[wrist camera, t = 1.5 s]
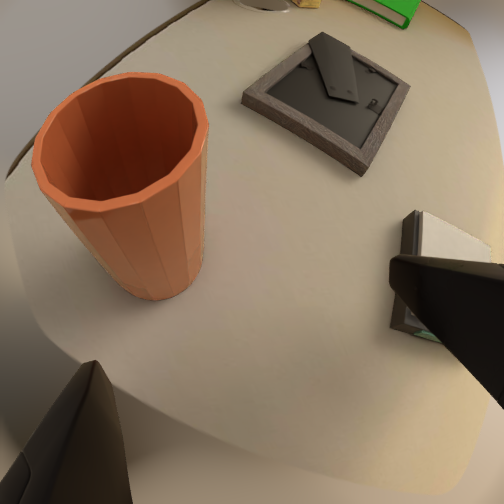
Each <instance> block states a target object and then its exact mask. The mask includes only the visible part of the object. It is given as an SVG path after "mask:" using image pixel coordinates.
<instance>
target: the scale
mask: <svg viewBox="0 0 504 504" xmlns="http://www.w3.org/2000/svg"><path fill="white" fill-rule="evenodd" d="M400 254H406V255H416V256H427V257H437V258H448V259H458V260H468V261H478V262H488V263H491V246H490V245H488V244H486V243H484V242H483V241H481V240H479V239H477V238H475V237H473V236H472V235H470V234H468V233H466V232H464V231H462V230H460V229H459V228H457V227H455V226H453V225H451V224H449V223H447V222H445V221H443V220H441V219H439V218H437V217H435V216H433V215H431V214H429V213H427V212H425V211H422V212H419V211H417V210H414V211H413V212H412V213H410V214H409V215H408V216H407V217H406V218H404V219H403V230H402V243H401V253H400ZM390 328H393V329H396V330H400V331H403V332H406V333H410V334H413V335H416V336H420V337H423V338H426V339H430V340H433V341H437V342H440V341H439V340H438V339H437V338H436V337H435V336H434V335H433V334H432V333H431V332H430V331H429V330H428V329H427V328H426V327H425V326H424V325H423V324H422V323H421V322H420V321H419V320H418V319H417V318H416V316H415V315H414V314H413V313H412V312H411V311H410V309H409V308H408V307H407V306H406V305H405V303H404V302H403V301H402V300H401V299H400V298H399V296H398V295H397V294H395V301H394V308H393V314H392V320H391V326H390ZM440 343H441V342H440Z"/></svg>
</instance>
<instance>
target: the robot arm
mask: <svg viewBox="0 0 504 504" xmlns="http://www.w3.org/2000/svg"><path fill="white" fill-rule="evenodd" d="M389 284H390V286H391V288H392V289H393V291H394V292H395V293H396V294H397V295H398V296H399V298H400V299H401V300H402V301H403V302H404V303H405V305H406V306H407V307H408V308H409V309H410V311H411V312H412V313H413V314H414V315H415V316H416V318H417V319H418V320H419V321H420V322H421V323H422V324H423V325H424V326H425V327H426V328H427V329H428V330H429V331H430V332H431V333H432V334H433V335H434V336H435V337H436V338H437V339H438V340H439V341H440V342H441V343H442V344H443V345H444V346H445V347H446V348H447V349H448V350H449V351H450V352H451V353H452V354H453V355H454V356H455V357H456V358H457V359H458V360H459V361H460V362H461V363H462V364H463V365H464V366H465V368H466V369H467V370H468V371H469V372H470V373H471V374H472V375H473V376H474V377H475V378H476V379H477V380H478V381H479V382H480V384H481V385H482V386H483V387H484V388H485V389H486V390H487V391H488V392H489V393H490V395H491V396H492V397H493V398H494V399H495V400H496V401H497V403H498V404H499V405H500V406H501V407H502V408H503V409H504V264H497V263H488V262H478V261H468V260H458V259H448V258H437V257H427V256H416V255H406V254H400V255H397V256H395V257H393V258H392V259H391V260H390V264H389ZM22 451H23V452H20V454H19V455H18V457H17V458H16V460H15V461H14V463H13V464H12V466H11V467H10V469H9V470H8V472H7V473H6V475H5V476H4V478H3V479H2V480H1V482H0V504H133V502H132V497H131V490H130V484H129V478H128V472H127V465H126V457H125V450H124V442H123V435H122V430H121V426H120V421H119V416H118V412H117V407H116V402H115V396H114V391H113V387H112V384H111V382H110V380H109V379H108V377H107V375H106V373H105V372H104V370H103V368H102V366H101V365H100V363H99V362H98V361H96V360H93V361H89V362H86V363H83V364H82V365H81V367H80V368H79V369H78V371H77V372H76V373H75V375H74V376H73V377H72V379H71V380H70V382H69V383H68V384H67V386H66V387H65V388H64V390H63V391H62V393H61V394H60V395H59V397H58V398H57V399H56V401H55V402H54V404H53V405H52V407H51V408H50V409H49V411H48V412H47V414H46V415H45V416H44V418H43V419H42V421H41V422H40V424H39V425H38V427H37V428H36V430H35V431H34V433H33V434H32V435H31V437H30V439H29V440H28V441H27V443H26V445H25V446H24V448H23V449H22Z"/></svg>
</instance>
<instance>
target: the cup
mask: <svg viewBox="0 0 504 504" xmlns="http://www.w3.org/2000/svg"><path fill="white" fill-rule="evenodd" d="M208 132H209V123H208V119H207V116H206V112H205V109H204V105H203V102H202V100H201V99H200V98H199V97H198V96H197V95H196V94H195V93H194V92H193V91H192V90H191V89H190V88H189V87H188V86H187V85H186V84H185V83H183V82H180V81H178V80H175V79H173V78H170V77H167V76H165V75H162V74H158V73H143V72H127V73H123V74H118V75H114V76H109V77H105V78H101V79H98V80H96V81H94V82H92V83H90V84H88V85H86V86H85V87H83V88H81V89H79V90H77V91H75V92H73V93H72V94H71V95H69V96H68V97H67V98H66V99H65V100H64V101H63V102H62V103H61V104H59V105H58V106H57V107H56V108H55V109H54V110H53V111H52V112H51V113H50V114H49V116H48V117H47V119H46V121H45V122H44V124H43V126H42V127H41V129H40V131H39V133H38V134H37V136H36V139H35V143H34V149H33V156H32V163H31V165H32V169H33V172H34V175H35V177H36V180H37V183H38V185H39V188H40V190H41V191H42V193H43V194H44V195H45V197H46V198H47V199H48V201H49V202H50V203H51V205H52V206H53V207H54V208H55V210H56V211H57V212H58V214H59V215H60V216H61V217H62V219H63V220H64V221H65V222H66V224H67V225H68V226H69V227H70V229H71V230H72V231H73V232H74V234H75V235H76V236H77V237H78V238H79V240H80V241H81V242H82V243H83V244H84V246H85V247H86V248H87V249H88V250H89V251H90V253H91V254H92V255H93V256H94V257H95V258H96V260H97V261H98V262H99V263H100V264H101V265H102V266H103V267H104V269H105V270H106V271H107V272H108V273H109V274H110V275H111V276H112V277H113V279H114V280H115V281H116V282H117V283H118V284H119V285H120V286H121V287H123V288H124V289H125V290H126V291H128V292H129V293H131V294H132V295H134V296H136V297H139V298H142V299H146V300H163V299H167V298H171V297H173V296H175V295H177V294H179V293H181V292H182V291H184V290H185V289H186V288H187V287H188V286H189V285H190V284H191V283H192V282H193V281H194V279H195V278H196V276H197V275H198V273H199V270H200V268H201V264H202V260H203V252H204V223H205V193H206V169H207V149H208Z"/></svg>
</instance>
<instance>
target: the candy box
mask: <svg viewBox="0 0 504 504" xmlns="http://www.w3.org/2000/svg"><path fill="white" fill-rule="evenodd" d="M291 1H293V2H294V3H295V4H296V5H297V6H298V7H300V8H319V5H320V2H321V0H291Z"/></svg>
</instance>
